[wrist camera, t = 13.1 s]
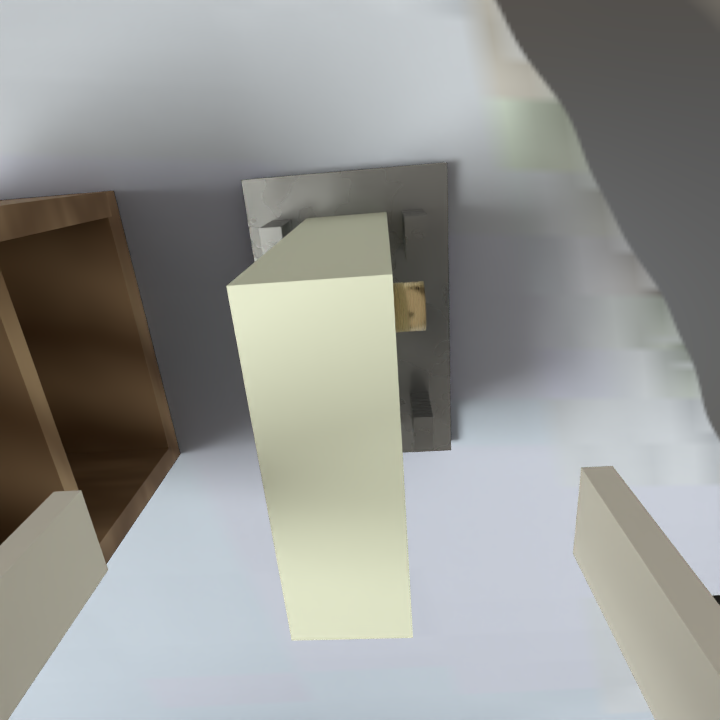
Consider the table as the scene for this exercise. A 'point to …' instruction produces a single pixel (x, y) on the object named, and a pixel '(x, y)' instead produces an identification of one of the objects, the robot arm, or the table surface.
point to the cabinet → (76, 367)
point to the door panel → (331, 421)
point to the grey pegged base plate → (408, 259)
